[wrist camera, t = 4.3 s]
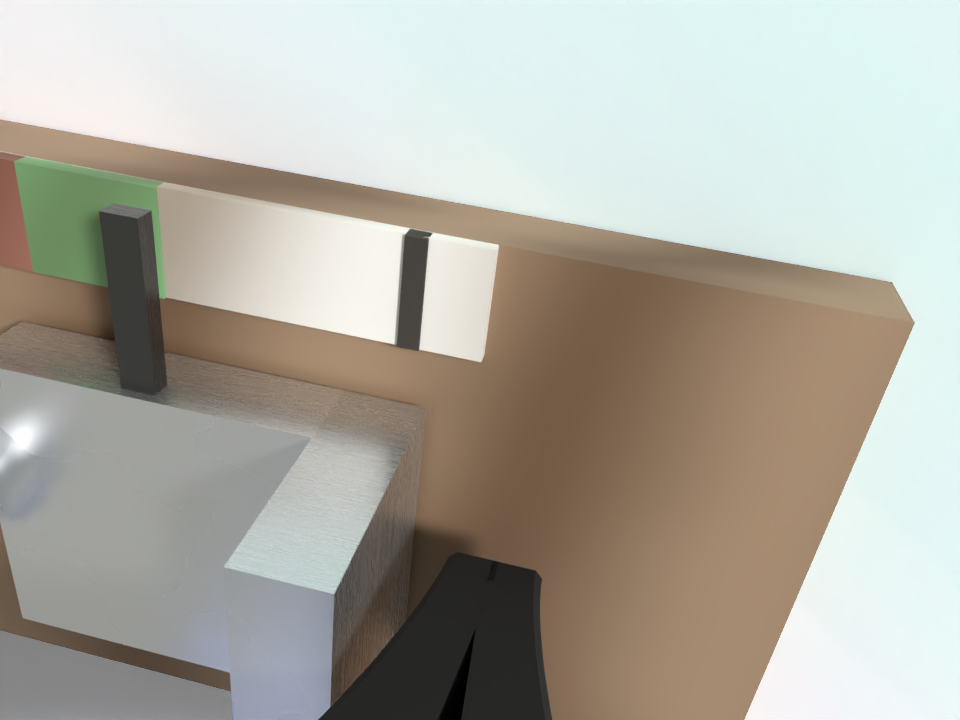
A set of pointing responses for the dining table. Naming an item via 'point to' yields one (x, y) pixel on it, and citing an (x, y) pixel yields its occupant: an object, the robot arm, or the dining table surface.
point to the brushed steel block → (203, 500)
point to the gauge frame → (505, 393)
